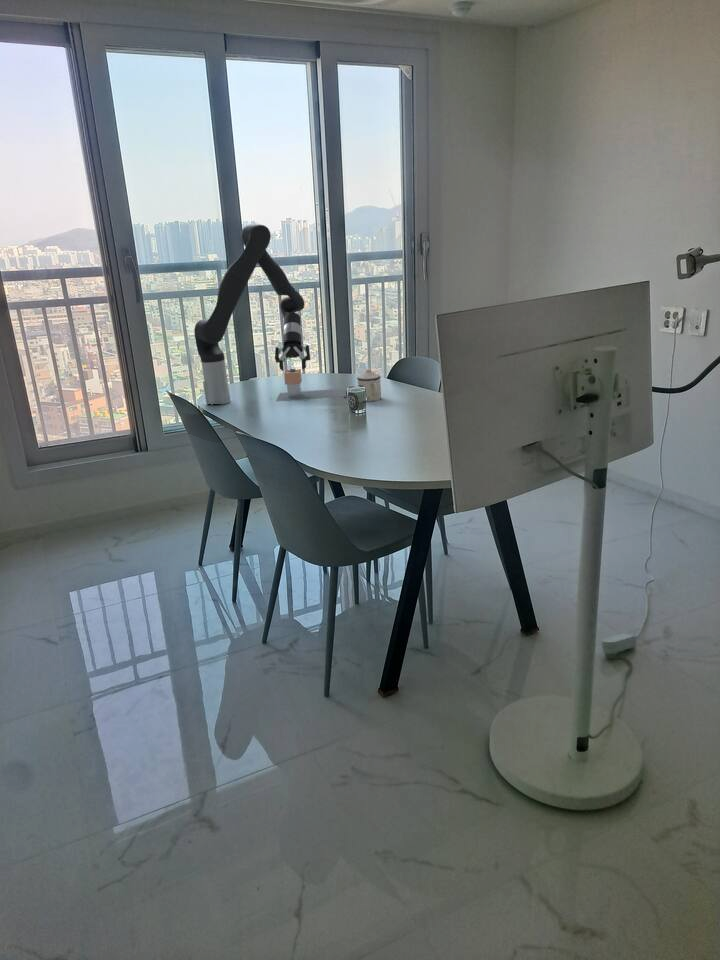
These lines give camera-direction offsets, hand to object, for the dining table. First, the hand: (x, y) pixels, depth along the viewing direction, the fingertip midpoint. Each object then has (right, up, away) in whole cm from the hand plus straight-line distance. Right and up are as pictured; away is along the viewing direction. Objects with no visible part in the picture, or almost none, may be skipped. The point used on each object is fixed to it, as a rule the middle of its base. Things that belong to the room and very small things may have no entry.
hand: (292, 369), depth 266 cm
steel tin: (+1, -11, +2) cm, 11 cm away
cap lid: (0, -5, 0) cm, 5 cm away
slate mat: (+8, -11, +2) cm, 13 cm away
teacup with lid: (+32, -14, -11) cm, 36 cm away
